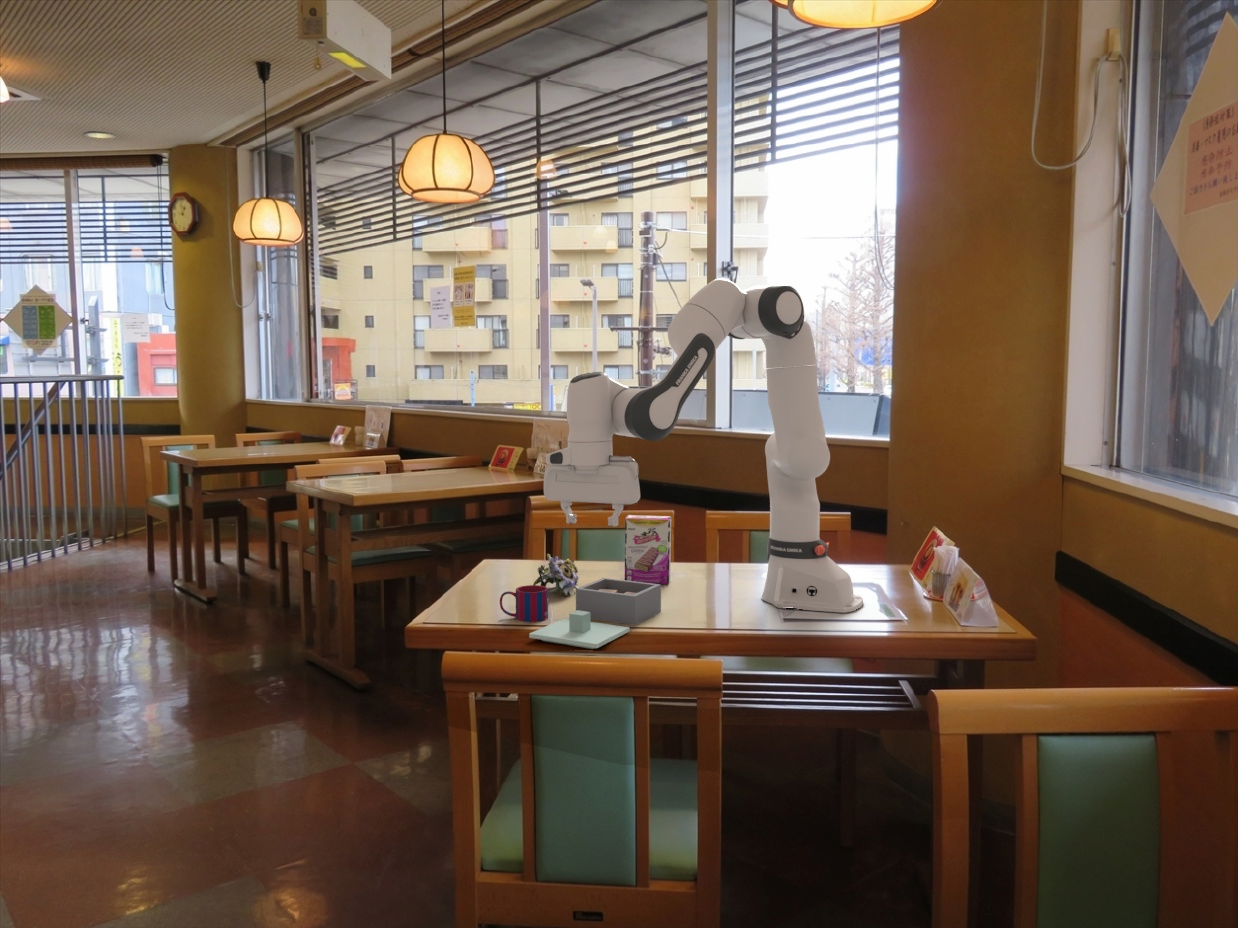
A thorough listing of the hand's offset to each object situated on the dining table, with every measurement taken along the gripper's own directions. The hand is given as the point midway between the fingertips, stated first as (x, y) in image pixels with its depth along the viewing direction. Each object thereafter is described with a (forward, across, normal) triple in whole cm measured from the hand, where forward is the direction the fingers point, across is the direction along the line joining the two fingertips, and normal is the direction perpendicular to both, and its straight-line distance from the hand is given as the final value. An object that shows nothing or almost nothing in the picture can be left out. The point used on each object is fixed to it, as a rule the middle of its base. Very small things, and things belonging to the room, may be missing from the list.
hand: (592, 524), depth 188 cm
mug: (+22, +17, 0) cm, 27 cm away
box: (+22, +1, -12) cm, 25 cm away
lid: (+22, 0, +6) cm, 23 cm away
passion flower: (+22, +23, -22) cm, 38 cm away
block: (+21, +4, -12) cm, 25 cm away
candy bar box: (+22, +9, -44) cm, 50 cm away
